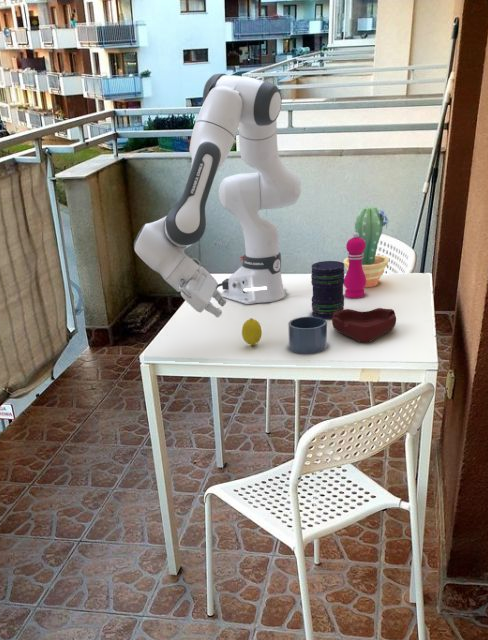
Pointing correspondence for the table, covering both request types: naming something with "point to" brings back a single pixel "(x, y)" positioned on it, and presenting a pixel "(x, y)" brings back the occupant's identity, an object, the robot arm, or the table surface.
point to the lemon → (251, 332)
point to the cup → (307, 335)
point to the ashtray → (364, 323)
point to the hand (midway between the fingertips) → (222, 309)
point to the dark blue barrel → (327, 288)
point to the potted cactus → (371, 243)
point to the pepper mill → (355, 268)
